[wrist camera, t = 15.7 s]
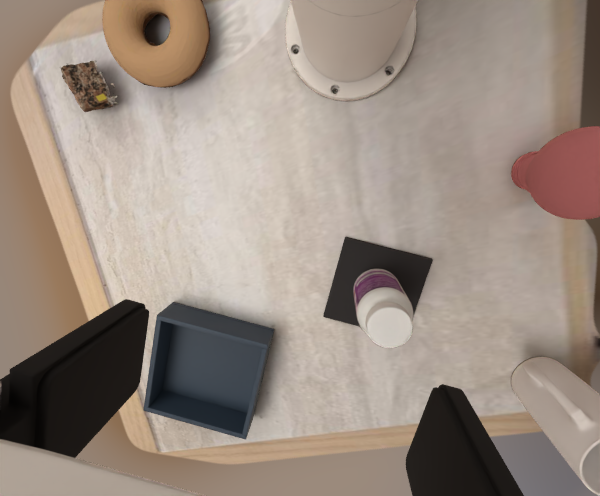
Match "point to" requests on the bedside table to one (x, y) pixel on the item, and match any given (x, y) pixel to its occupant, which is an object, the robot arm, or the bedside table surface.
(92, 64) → the rock
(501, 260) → the bedside table surface
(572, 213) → the light bulb
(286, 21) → the robot arm
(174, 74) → the donut
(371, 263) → the mat
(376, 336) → the pill bottle
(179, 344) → the bin
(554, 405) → the mug
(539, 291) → the bedside table surface
